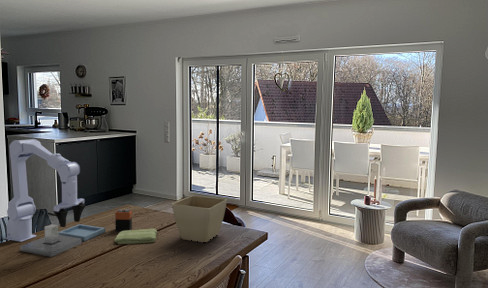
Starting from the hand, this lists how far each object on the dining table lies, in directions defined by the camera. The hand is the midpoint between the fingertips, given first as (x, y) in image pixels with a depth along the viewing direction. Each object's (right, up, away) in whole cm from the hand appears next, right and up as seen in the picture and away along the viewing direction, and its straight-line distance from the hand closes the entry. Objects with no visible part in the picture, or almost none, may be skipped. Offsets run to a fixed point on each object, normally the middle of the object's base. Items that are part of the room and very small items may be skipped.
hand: (70, 224), depth 153 cm
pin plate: (-8, -10, +1) cm, 12 cm away
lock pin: (-8, -10, +1) cm, 13 cm away
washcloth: (+24, -10, +13) cm, 29 cm away
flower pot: (+52, -10, +17) cm, 56 cm away
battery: (+14, -8, +25) cm, 30 cm away
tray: (-2, -8, +17) cm, 19 cm away
